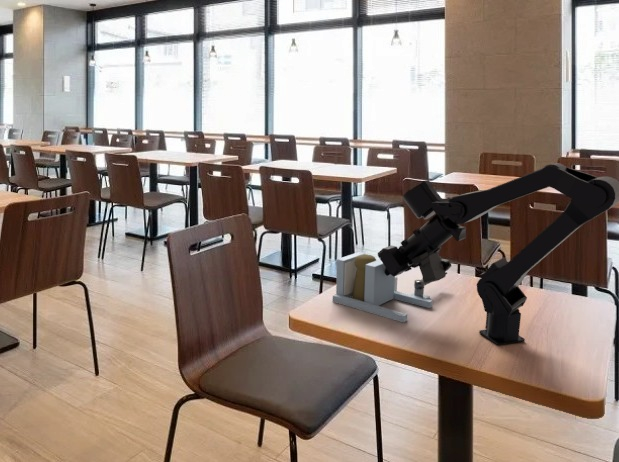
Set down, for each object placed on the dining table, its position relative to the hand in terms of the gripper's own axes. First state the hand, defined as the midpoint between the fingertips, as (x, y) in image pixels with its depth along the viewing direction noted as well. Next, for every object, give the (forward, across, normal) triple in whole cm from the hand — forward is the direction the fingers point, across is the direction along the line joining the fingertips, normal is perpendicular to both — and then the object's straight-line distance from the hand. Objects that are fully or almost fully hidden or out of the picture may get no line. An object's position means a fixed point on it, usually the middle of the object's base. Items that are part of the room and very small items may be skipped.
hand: (386, 273), depth 125 cm
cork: (+10, 0, -1) cm, 10 cm away
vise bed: (+6, +2, -5) cm, 8 cm away
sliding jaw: (+6, 0, -4) cm, 8 cm away
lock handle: (+1, +14, -6) cm, 16 cm away
